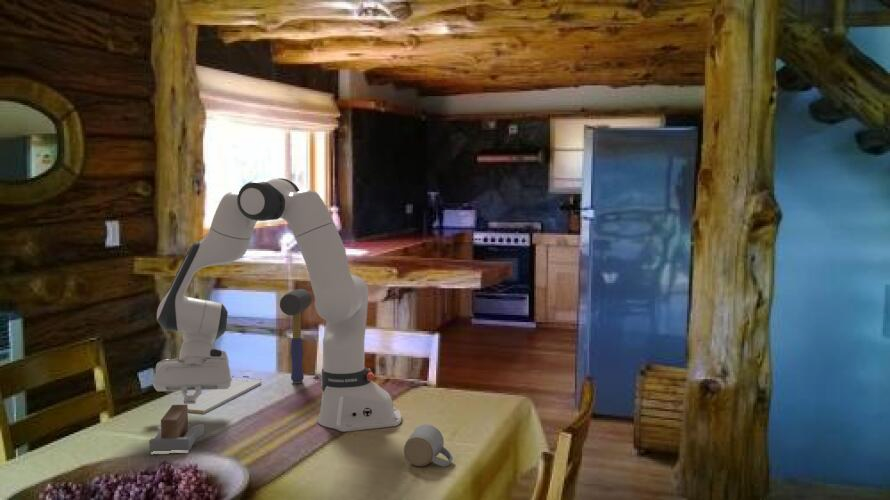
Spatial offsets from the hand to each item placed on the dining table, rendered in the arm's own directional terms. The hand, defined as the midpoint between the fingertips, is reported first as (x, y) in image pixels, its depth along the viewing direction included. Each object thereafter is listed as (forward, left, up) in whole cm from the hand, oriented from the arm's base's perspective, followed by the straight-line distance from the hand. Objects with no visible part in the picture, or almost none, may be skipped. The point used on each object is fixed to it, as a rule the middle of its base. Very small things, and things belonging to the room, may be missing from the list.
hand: (189, 403), depth 195 cm
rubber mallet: (-26, -35, -5) cm, 44 cm away
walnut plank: (0, +17, -5) cm, 18 cm away
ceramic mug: (-60, +37, -5) cm, 71 cm away
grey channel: (0, +18, -5) cm, 19 cm away
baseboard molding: (-3, -23, -6) cm, 24 cm away
